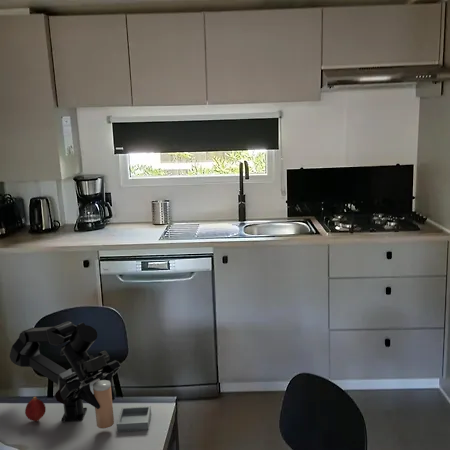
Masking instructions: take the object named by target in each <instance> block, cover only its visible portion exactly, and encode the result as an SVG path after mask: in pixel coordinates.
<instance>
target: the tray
mask: <svg viewBox="0 0 450 450" xmlns="http://www.w3.org/2000/svg"><path fill="white" fill-rule="evenodd" d="M151 416H152V406H151V405H148V406H147V405H145V406H129V407H128V406H127V407H121V408H120V412H119V415H118V419H117V422H116V431H117V433H120V432H121V433H122V432H123V433H125V432H137V431H138V432H141V431H149V428H150V423H151Z"/></svg>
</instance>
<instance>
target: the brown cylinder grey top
mask: <svg viewBox="0 0 450 450" xmlns="http://www.w3.org/2000/svg"><path fill="white" fill-rule="evenodd" d="M92 390H93V392H92V393H93V395H94V397H95V398H96V400H97V401H98V403H99V405H100V408H99V409H97V408H95V407H94V410H95V411H94V413H95V422H96V427H97V428H99V429H106V428H107V429H108V428H111V427H112V426H113V425H114V424H115V417H114V416H115V415H114V407H113V404H114V403H113V401H112V392H111V382H110V381H108V380H101V381H100V380H98V381H97V380H96V381H94V382H93V384H92Z"/></svg>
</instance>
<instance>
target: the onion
mask: <svg viewBox="0 0 450 450" xmlns="http://www.w3.org/2000/svg"><path fill="white" fill-rule="evenodd" d="M46 411H47V409H46V404H45V402H43V401H42V400H40V399H39V398H38V397H37V396H33V398H32V399H31V400H30V401H28V403H27V404H26V406H25V409H24V415H25V417H26V418H27V419H28V420H29V421H33V422H39V421H40V420H41V419H42V417H44V416H45V414H46Z"/></svg>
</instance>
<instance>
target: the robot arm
mask: <svg viewBox="0 0 450 450" xmlns="http://www.w3.org/2000/svg"><path fill="white" fill-rule="evenodd" d="M97 339H98V332H97V330H96V328H94V327H93V326H91V325H87V324H85V322H80V323H78V324H77V325H76V324H74V323H73V322H72V321H65V322H62V323H60V324H58V325H54V326H46V327H31V328H28V329H25V330H22V331H21V332H20V333H19V336H18V338H17V339H16V341H15V342H14V343H13V344H12V346H11V349H10V352H9V359H10V361H11V362H12V363H13V364H14V365H16V366H19V367H20V368H24V367H25V368H31V369H33V370H34V371H36V372H37V373H38V374H41V375H42V376H44V377H45V378H47V379H49V380H50V381H51V382H53V383H55V384H56V385H57V387H58V388H57V389H58V390H57V391H56V393H55V394H54V397H55V399H56V400H55V401H57V402H59V403H60V404H63V415H62V417H61V422H72V421H82V420H84V418H85V415H86V412H87V409H88V407H84V402H86V403H87V404H89V405H91V406H92V407H94V409H95V408H97V409H99V408H100V405H99V403H98V401H97V400H96V398H95V397H94V392H92V390H91V386H90V384H91V383H94V382H96V381H97V380H99V381H101V380H108V381H110V382H111V392H112V402H114V401H115V400H116V398H115V393H114V388H113V381H112V380H113V376H114V375H116V374H117V372H118V371H119V370H120V369H121V368H122V364H121V363H120V362H119V361H118V360H116V359H114V360H113V361H111V362H108V361H110V360H111V358H110V355H109V353H108V352H107V350H103V351H100V352H98V354H97V356H96V357H94V355H92V354H89V353H88V352H87V351H88V350H89V349H90V348H91V346H92V345H93V344H94V342H96V340H97ZM41 342H42V343H43V342H49V343H48V344H50V345H52V346H61V345H62V346H61V347H60V348H61V350H60V354H59V355H60V356H61V357H62V356H65V358H66V359H67V361H68V363H69V365H70V366H71V368H69V369H65V367H62V366H61V365H59V364H57V363H56V362H54V361H53V360H51V359H50V358H48V357H46V356H44V355H43V354H42V353H41V352H40V347H41ZM65 343H66V344H65ZM63 344H65V345H63ZM107 362H108V363H107Z"/></svg>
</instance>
